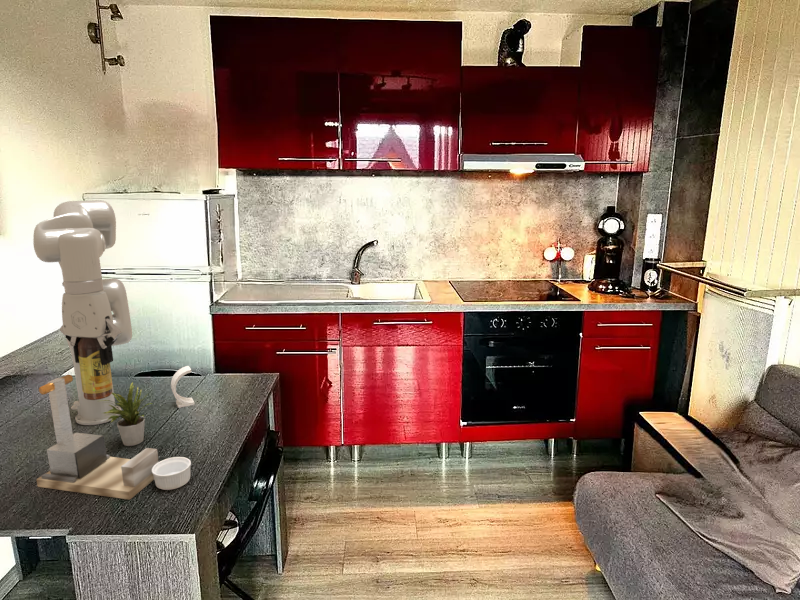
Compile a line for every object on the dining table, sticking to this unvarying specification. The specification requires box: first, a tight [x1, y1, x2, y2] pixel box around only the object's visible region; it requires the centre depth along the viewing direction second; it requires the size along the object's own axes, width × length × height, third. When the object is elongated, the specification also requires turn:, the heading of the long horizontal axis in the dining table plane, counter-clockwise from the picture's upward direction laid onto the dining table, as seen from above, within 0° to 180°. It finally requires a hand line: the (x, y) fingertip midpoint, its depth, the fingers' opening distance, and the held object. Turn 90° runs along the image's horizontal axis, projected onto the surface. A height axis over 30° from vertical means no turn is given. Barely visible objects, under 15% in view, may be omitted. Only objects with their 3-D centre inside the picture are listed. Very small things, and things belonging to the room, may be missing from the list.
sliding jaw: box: [38, 374, 108, 479], centre depth 134 cm, size 8×9×23 cm
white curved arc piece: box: [170, 365, 196, 409], centre depth 177 cm, size 5×6×12 cm
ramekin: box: [152, 456, 192, 491], centre depth 134 cm, size 9×9×4 cm
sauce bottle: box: [78, 337, 113, 400], centre depth 128 cm, size 7×6×20 cm
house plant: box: [100, 381, 153, 447], centre depth 153 cm, size 14×14×16 cm
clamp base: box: [36, 447, 160, 500], centre depth 135 cm, size 26×13×7 cm, turn 78°
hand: (94, 361), depth 128 cm, fingers closed on sauce bottle, 6 cm apart
